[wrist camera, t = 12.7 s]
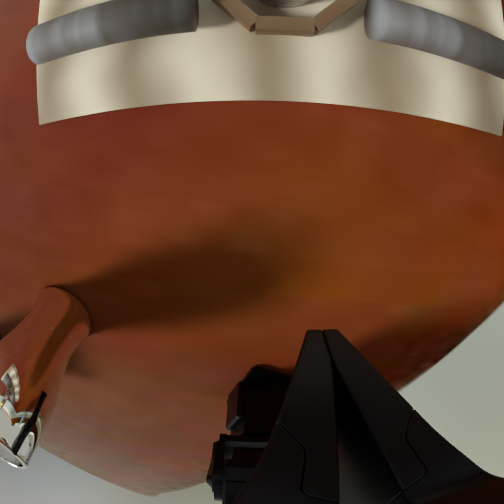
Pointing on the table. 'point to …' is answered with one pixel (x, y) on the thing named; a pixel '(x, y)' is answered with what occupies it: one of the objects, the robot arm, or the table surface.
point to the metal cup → (284, 3)
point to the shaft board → (273, 55)
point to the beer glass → (36, 370)
